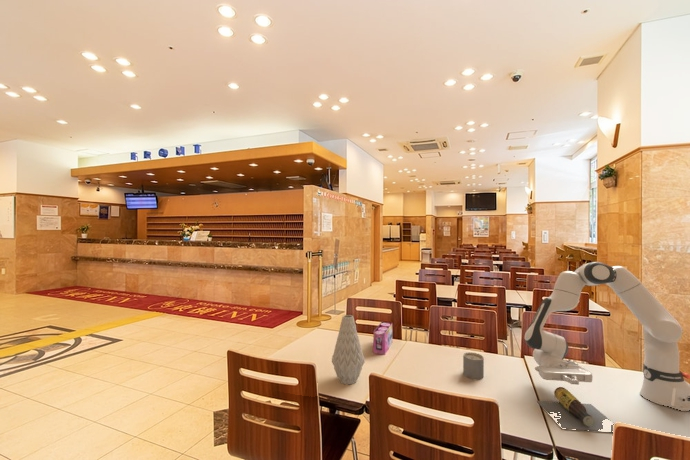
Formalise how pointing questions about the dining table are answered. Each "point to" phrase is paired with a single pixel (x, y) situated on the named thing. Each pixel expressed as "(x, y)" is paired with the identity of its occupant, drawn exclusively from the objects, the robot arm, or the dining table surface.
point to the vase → (348, 352)
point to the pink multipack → (382, 338)
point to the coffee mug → (473, 365)
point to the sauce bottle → (573, 405)
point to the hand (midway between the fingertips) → (575, 382)
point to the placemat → (570, 420)
